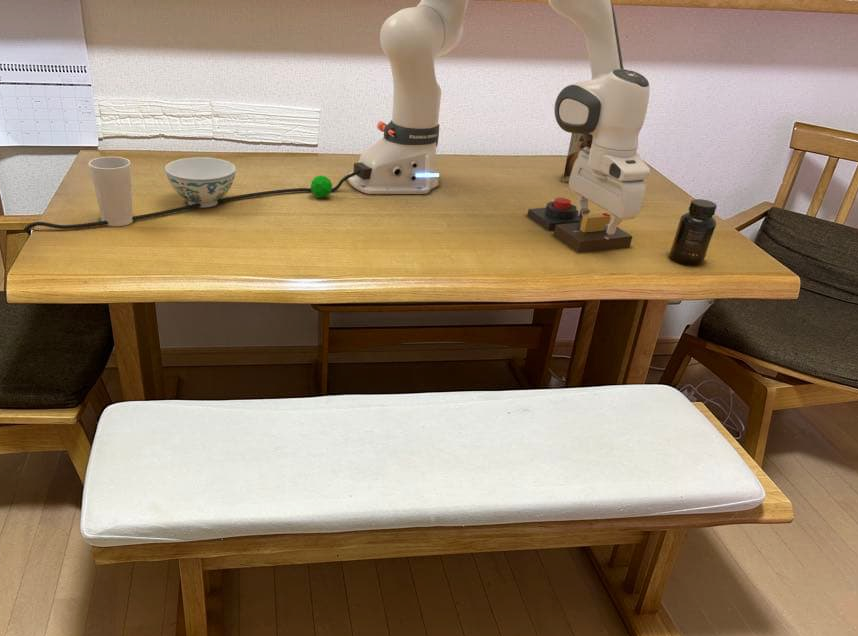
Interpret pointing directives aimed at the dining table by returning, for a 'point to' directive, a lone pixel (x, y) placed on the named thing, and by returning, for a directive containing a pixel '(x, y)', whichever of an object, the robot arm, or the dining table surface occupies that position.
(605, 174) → the robot arm
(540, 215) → the alarm box
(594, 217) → the upright wooden block
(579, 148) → the coffee box
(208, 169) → the chinaware
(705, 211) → the supplement bottle
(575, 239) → the clock face plate
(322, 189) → the polyhedron
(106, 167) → the cup
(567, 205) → the button
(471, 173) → the dining table surface
